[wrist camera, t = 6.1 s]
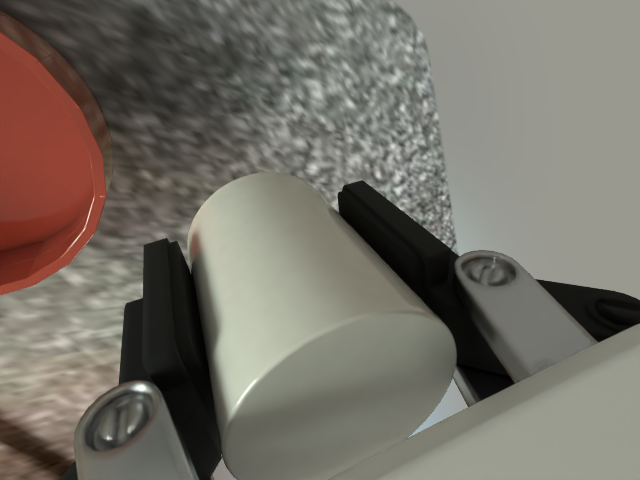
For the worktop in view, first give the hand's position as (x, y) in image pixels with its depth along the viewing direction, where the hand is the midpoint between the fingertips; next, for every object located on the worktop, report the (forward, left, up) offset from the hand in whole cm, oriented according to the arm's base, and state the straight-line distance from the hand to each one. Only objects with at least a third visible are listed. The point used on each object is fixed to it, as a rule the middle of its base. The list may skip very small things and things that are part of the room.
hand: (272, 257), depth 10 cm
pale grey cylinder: (0, 0, -1) cm, 1 cm away
